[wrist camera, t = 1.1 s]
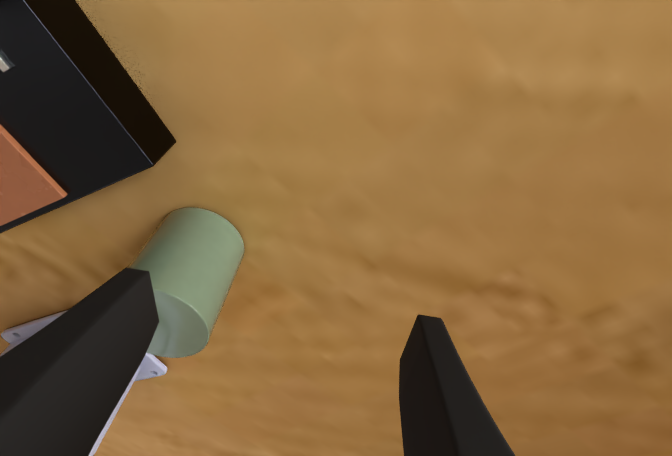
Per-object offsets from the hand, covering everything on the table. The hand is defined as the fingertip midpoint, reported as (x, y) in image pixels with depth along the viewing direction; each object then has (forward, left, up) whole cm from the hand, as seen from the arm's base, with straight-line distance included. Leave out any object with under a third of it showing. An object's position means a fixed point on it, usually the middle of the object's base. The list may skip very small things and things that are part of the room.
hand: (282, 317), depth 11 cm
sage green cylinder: (-9, -2, -10) cm, 13 cm away
